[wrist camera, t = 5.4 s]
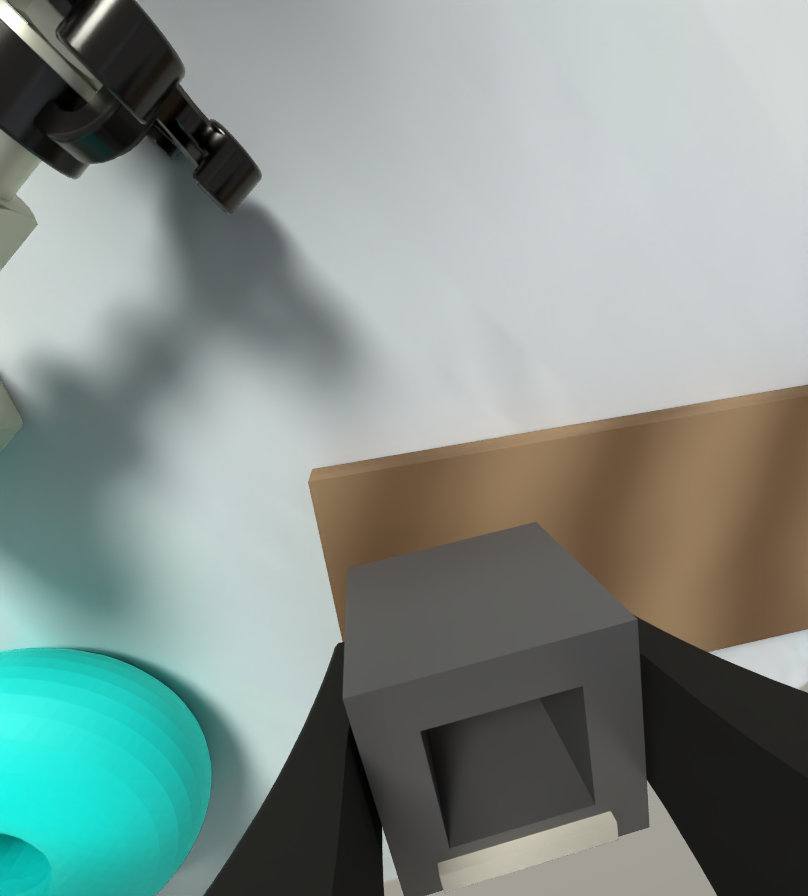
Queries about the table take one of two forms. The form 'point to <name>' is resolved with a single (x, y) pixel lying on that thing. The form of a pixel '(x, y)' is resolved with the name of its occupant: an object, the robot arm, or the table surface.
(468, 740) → the square tube section
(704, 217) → the table surface
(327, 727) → the robot arm
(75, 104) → the valve
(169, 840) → the donuts
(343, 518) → the board
